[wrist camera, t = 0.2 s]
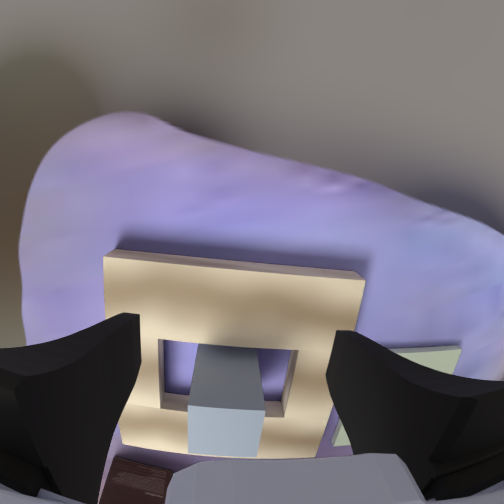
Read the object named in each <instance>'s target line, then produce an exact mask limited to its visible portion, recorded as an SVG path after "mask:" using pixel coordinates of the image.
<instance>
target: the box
mask: <svg viewBox="0 0 504 504" xmlns="http://www.w3.org/2000/svg"><path fill="white" fill-rule="evenodd" d="M172 474H173V472H172V471H171V470H166V469H162V468H158V467H153V466H149V465H144V464H140V463H136V462H133V461H129V460H126V459H122V458H119V457H114V458H113V461H112V464H111V467H110V470H109V473H108V476H107V479H106V482H105V486H104V489H103V492H102V495H101V499H100V502H99V504H165V500H166V493H167V488H168V486H169V483H170V481H171V479H172Z"/></svg>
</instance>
